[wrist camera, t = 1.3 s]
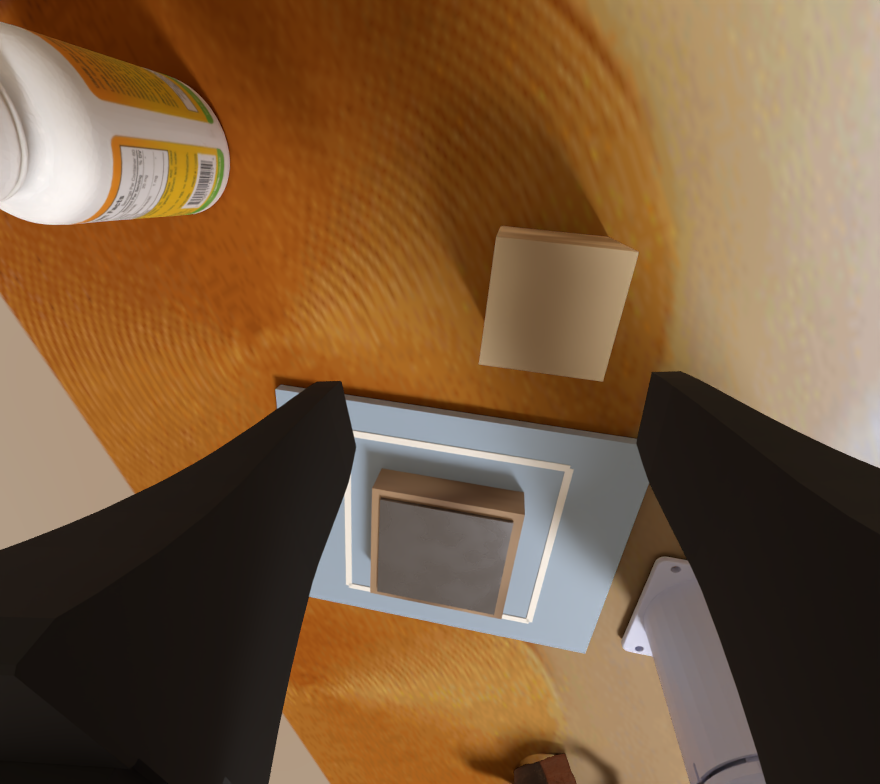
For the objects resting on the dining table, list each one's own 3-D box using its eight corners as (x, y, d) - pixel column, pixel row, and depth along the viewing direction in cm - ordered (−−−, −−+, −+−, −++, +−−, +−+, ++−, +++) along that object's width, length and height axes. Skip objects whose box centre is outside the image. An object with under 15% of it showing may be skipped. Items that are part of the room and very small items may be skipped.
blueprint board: (658, 441, 21) (675, 472, 19) (583, 644, 28) (589, 685, 26) (280, 384, 23) (255, 405, 21) (298, 586, 30) (280, 619, 28)
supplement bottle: (100, 88, 18) (-266, -2, 10) (209, 64, 17) (-95, -61, 9) (150, 221, 21) (-114, 244, 12) (249, 206, 20) (38, 219, 11)
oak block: (608, 236, 18) (638, 251, 13) (583, 338, 20) (602, 381, 15) (500, 225, 18) (496, 236, 14) (486, 326, 20) (478, 364, 16)
